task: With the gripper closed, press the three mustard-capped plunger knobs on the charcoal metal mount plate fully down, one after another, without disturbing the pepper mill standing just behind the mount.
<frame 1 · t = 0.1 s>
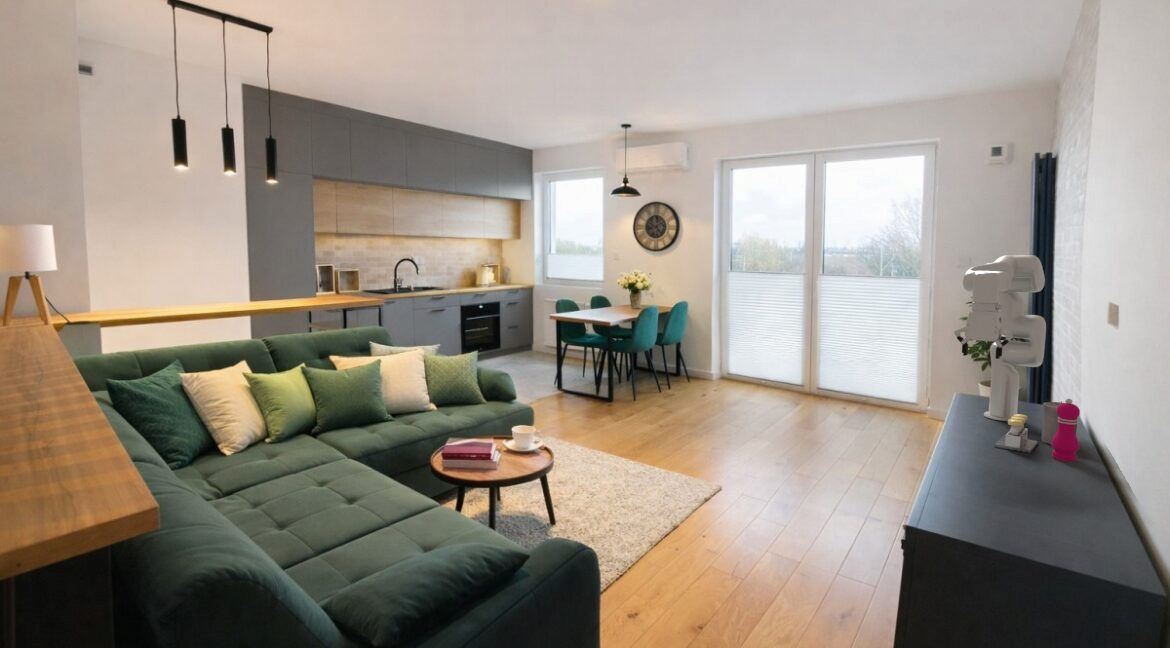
hand: (981, 356, 213), 31 cm above the table, fingers open, 9 cm apart
knob b: (1017, 425, 213), point 7 cm above the table, slide at 0.0 cm
mount plate: (1015, 445, 214), on the table
pillar candle: (1057, 443, 216), on the table
knob a: (1020, 423, 216), point 7 cm above the table, slide at 0.0 cm
pepper mill: (1064, 459, 200), on the table
knob c: (1014, 428, 209), point 7 cm above the table, slide at 0.0 cm
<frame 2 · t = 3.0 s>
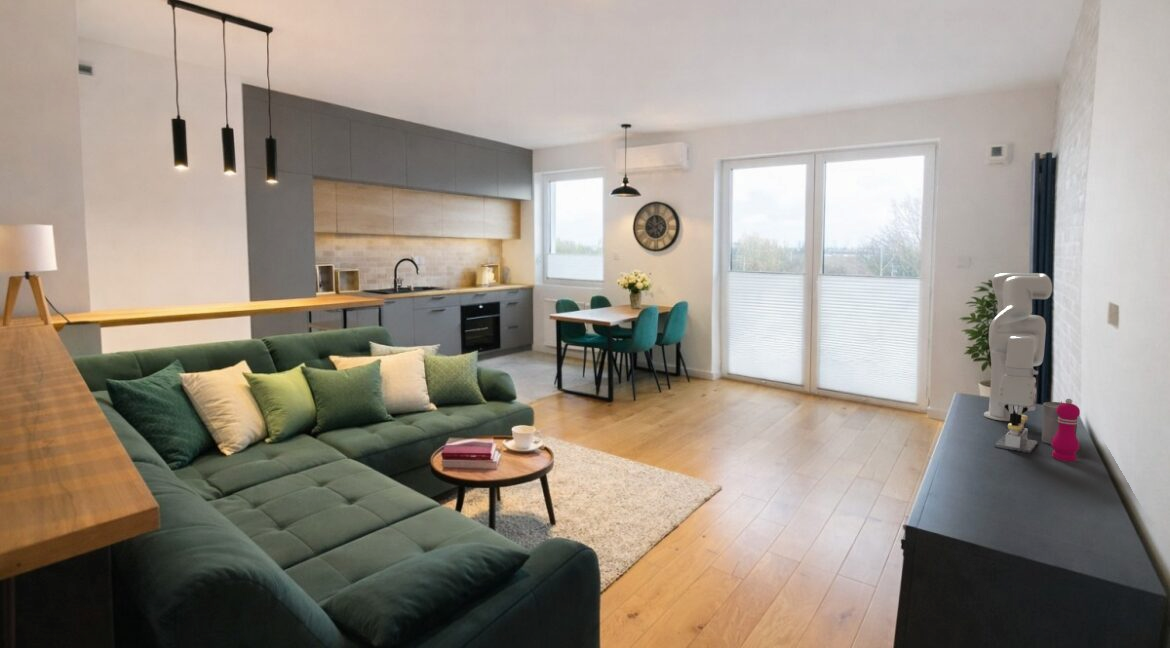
hand: (1015, 424, 209), 8 cm above the table, fingers closed
knob c: (1014, 432, 210), point 6 cm above the table, slide at 1.4 cm, touching gripper
everything else where it was.
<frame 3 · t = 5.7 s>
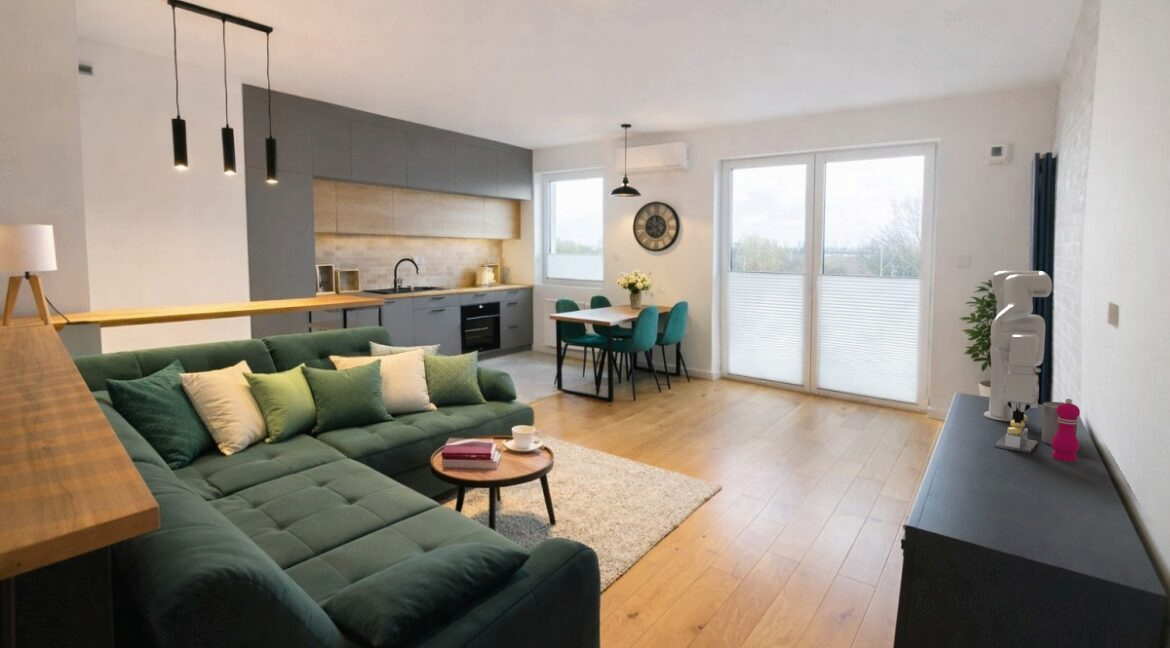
hand: (1017, 421, 212), 8 cm above the table, fingers closed
knob b: (1017, 429, 213), point 6 cm above the table, slide at 1.4 cm, touching gripper
knob c: (1014, 436, 210), point 4 cm above the table, slide at 2.8 cm
everything else where it was.
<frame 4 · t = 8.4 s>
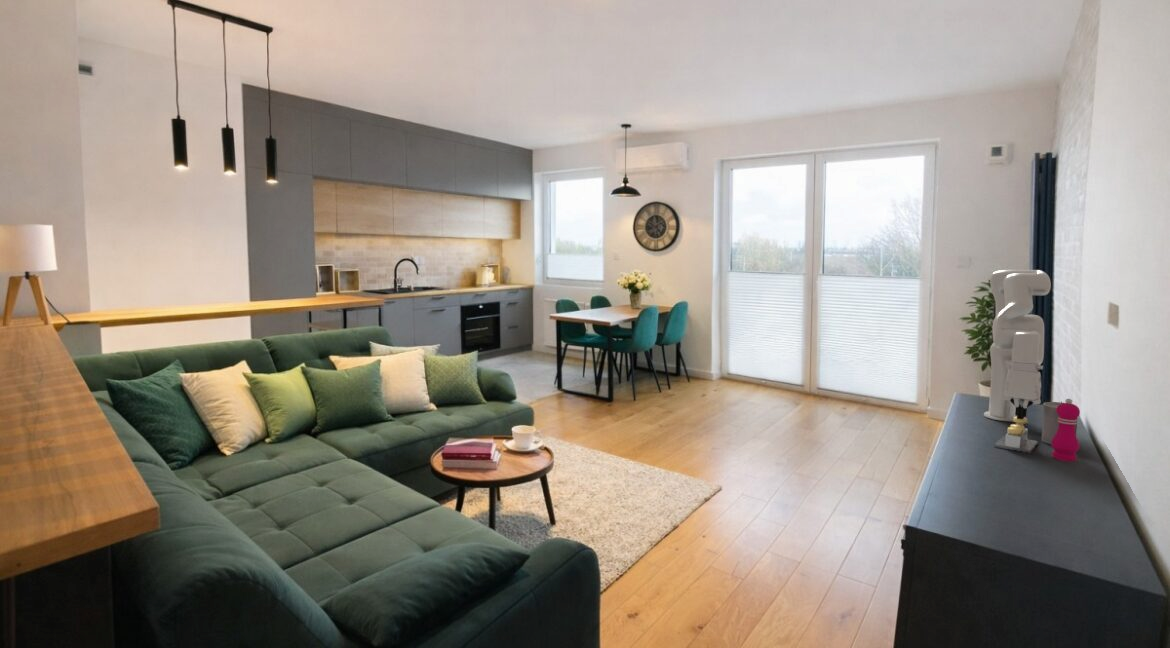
hand: (1020, 418, 215), 9 cm above the table, fingers closed
knob b: (1016, 433, 213), point 4 cm above the table, slide at 2.8 cm
knob a: (1019, 425, 216), point 6 cm above the table, slide at 1.0 cm, touching gripper
everything else where it was.
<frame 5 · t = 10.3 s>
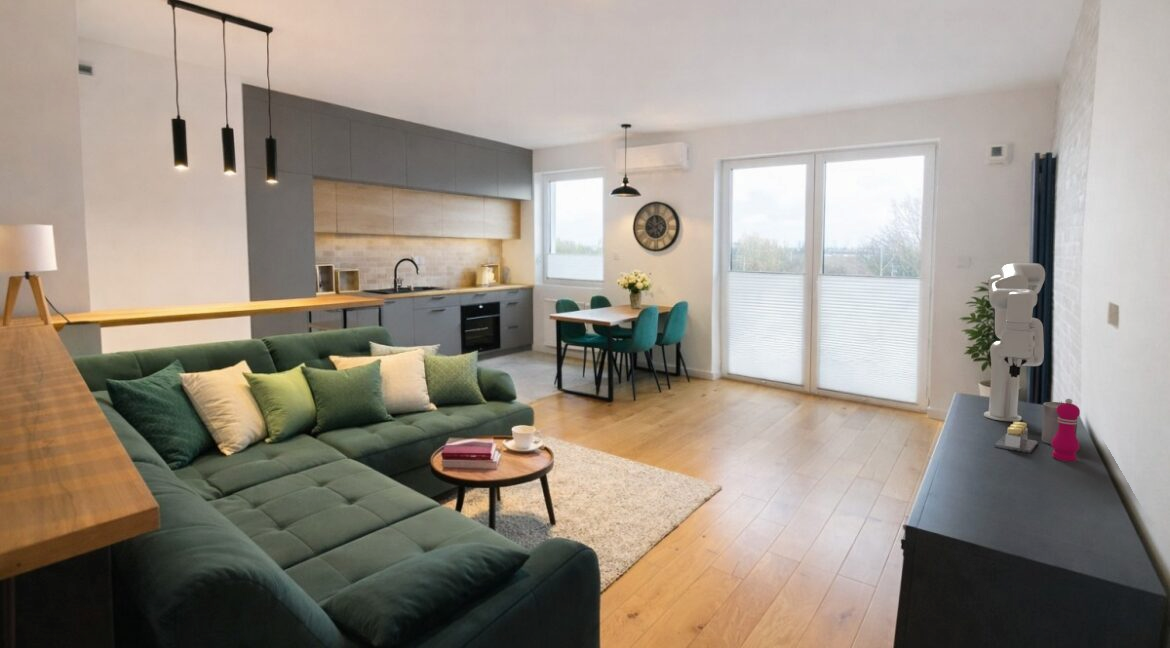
hand: (1014, 376, 220), 23 cm above the table, fingers closed
knob a: (1019, 430, 216), point 4 cm above the table, slide at 2.8 cm
everything else where it was.
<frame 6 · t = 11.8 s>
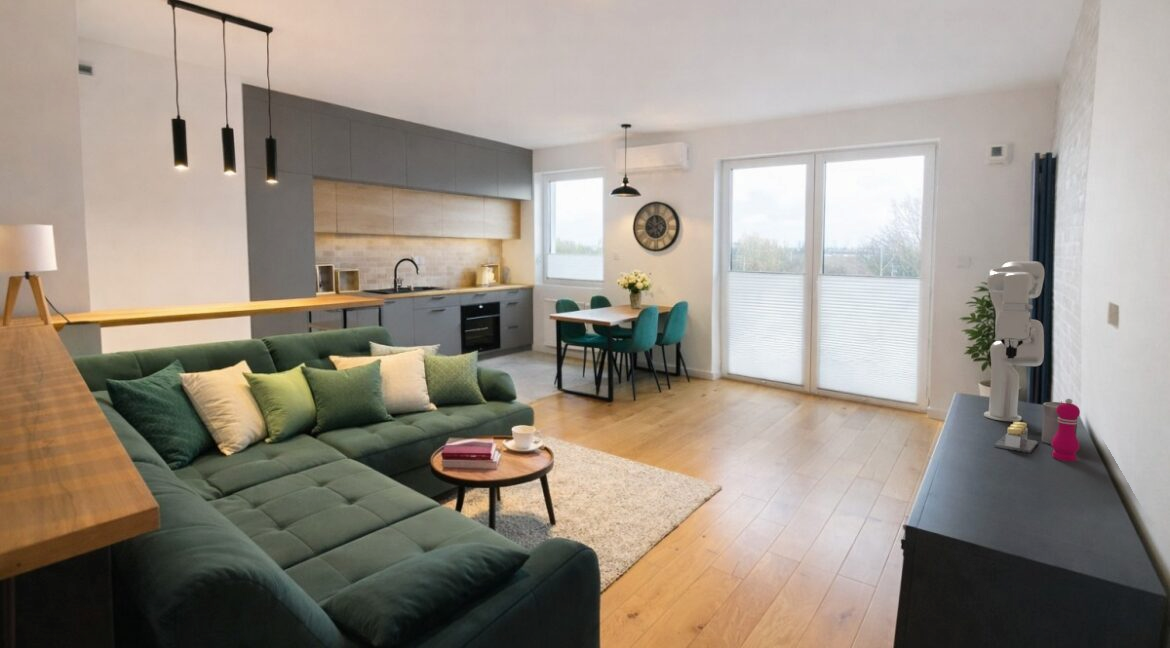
hand: (1010, 357, 221), 29 cm above the table, fingers closed
nothing on the table moved.
at the end: knob a slide at 2.8 cm; knob b slide at 2.8 cm; knob c slide at 2.8 cm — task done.
